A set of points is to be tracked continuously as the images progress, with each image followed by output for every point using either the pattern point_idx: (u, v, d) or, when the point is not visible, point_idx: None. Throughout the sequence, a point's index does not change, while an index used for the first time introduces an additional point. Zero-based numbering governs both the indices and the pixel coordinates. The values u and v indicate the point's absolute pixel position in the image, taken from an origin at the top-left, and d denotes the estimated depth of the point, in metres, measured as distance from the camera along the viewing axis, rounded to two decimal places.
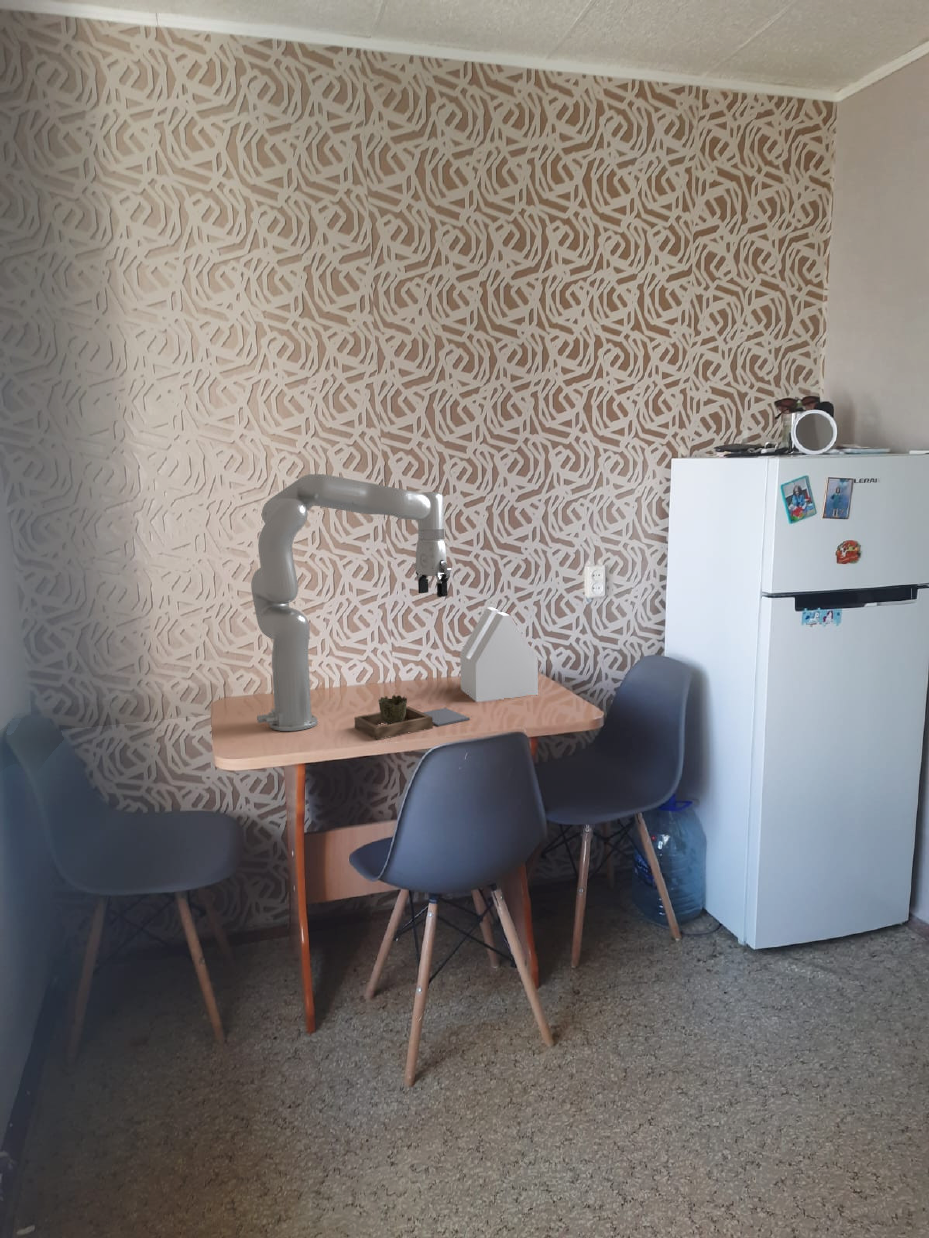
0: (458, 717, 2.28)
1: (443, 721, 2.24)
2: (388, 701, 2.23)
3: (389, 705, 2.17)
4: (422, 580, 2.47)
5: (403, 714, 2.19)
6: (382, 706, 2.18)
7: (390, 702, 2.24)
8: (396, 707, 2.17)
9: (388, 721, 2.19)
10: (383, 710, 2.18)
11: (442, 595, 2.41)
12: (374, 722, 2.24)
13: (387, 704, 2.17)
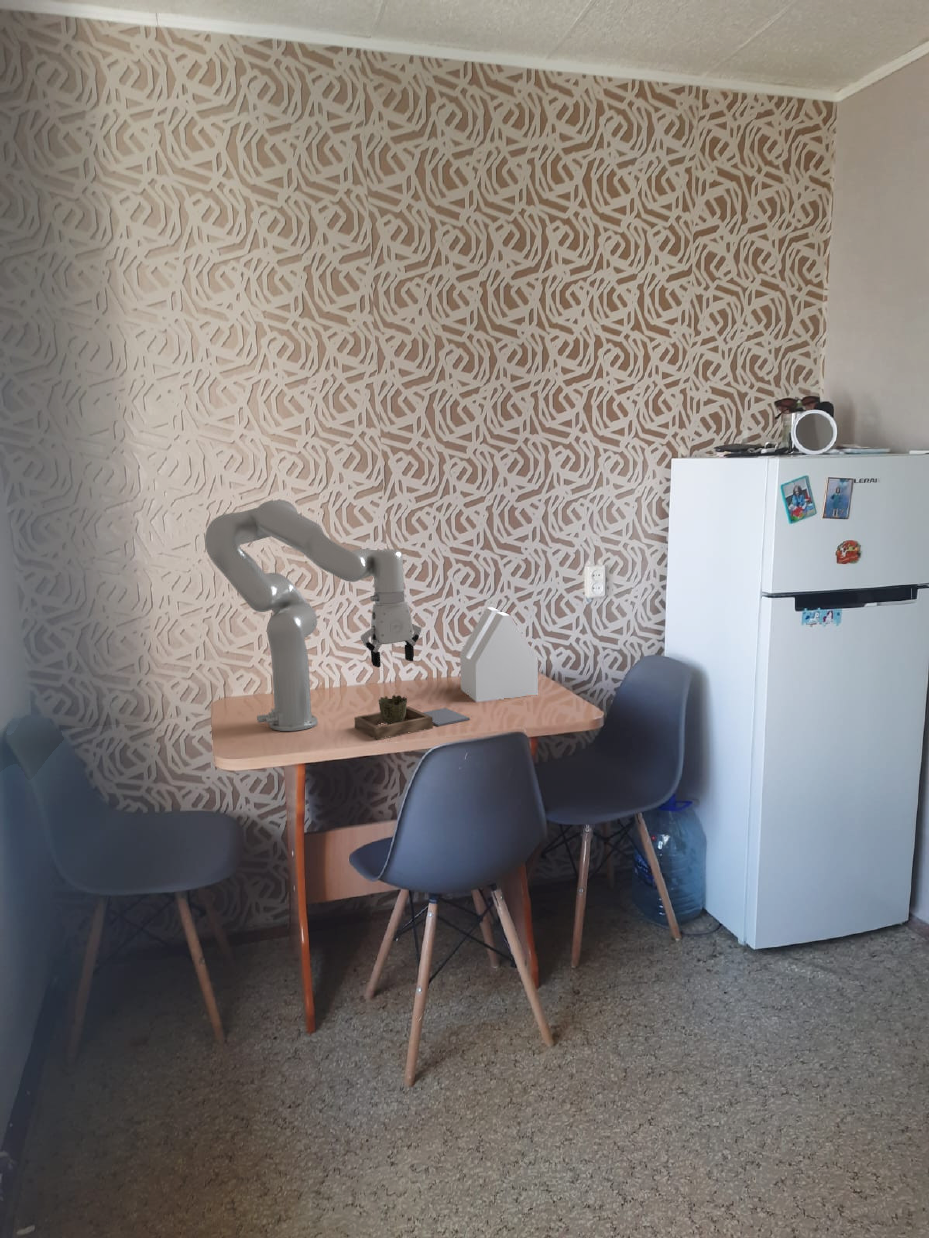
0: (458, 717, 2.28)
1: (443, 721, 2.24)
2: (388, 701, 2.23)
3: (389, 705, 2.17)
4: None
5: (403, 714, 2.19)
6: (382, 706, 2.18)
7: (390, 702, 2.24)
8: (396, 707, 2.17)
9: (388, 721, 2.19)
10: (383, 710, 2.18)
11: None
12: (374, 722, 2.24)
13: (387, 704, 2.17)
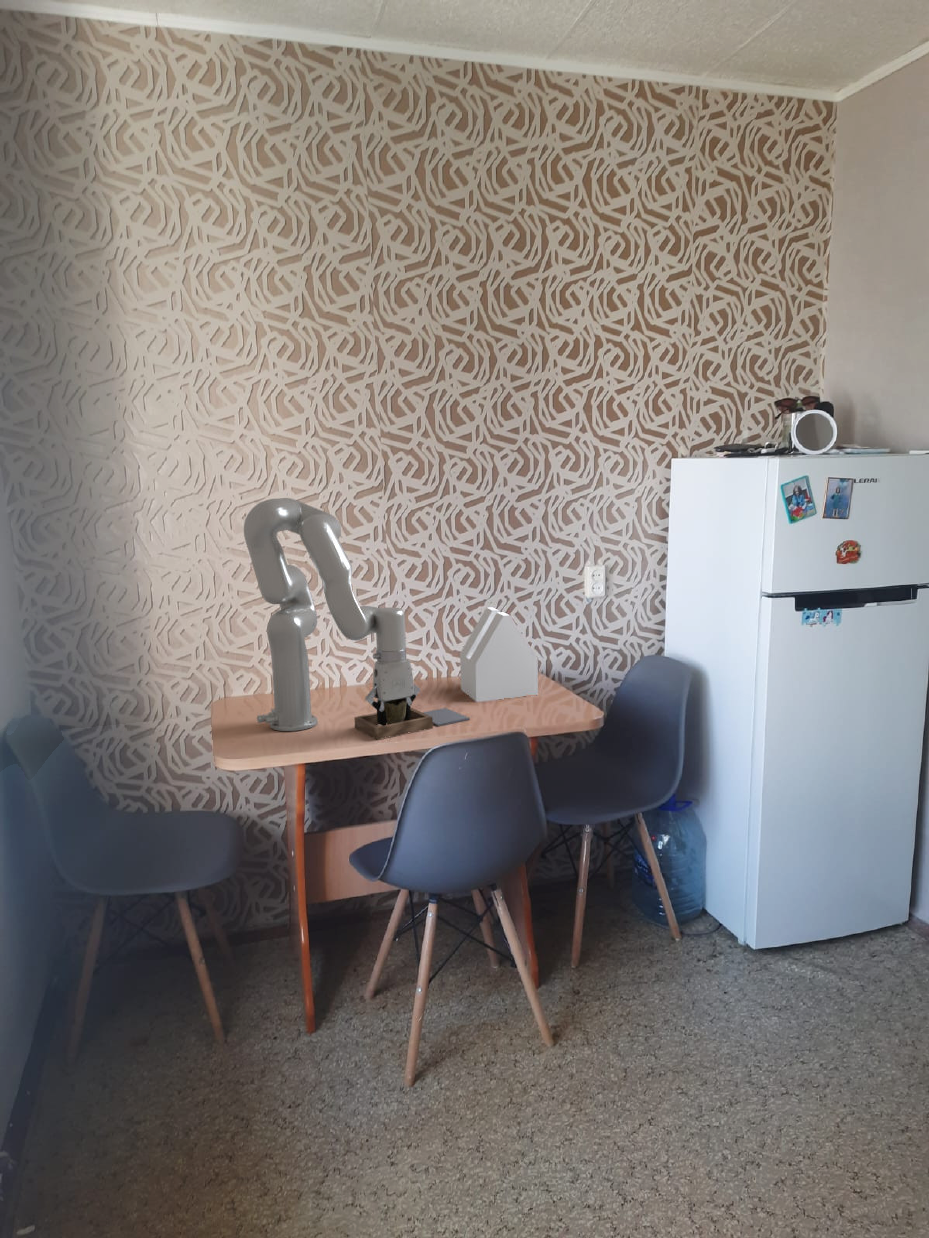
0: (458, 717, 2.28)
1: (443, 721, 2.24)
2: (388, 701, 2.23)
3: (389, 705, 2.17)
4: None
5: (402, 714, 2.19)
6: None
7: (390, 702, 2.24)
8: (396, 707, 2.17)
9: (388, 721, 2.19)
10: (383, 710, 2.18)
11: None
12: (374, 722, 2.24)
13: (387, 704, 2.17)
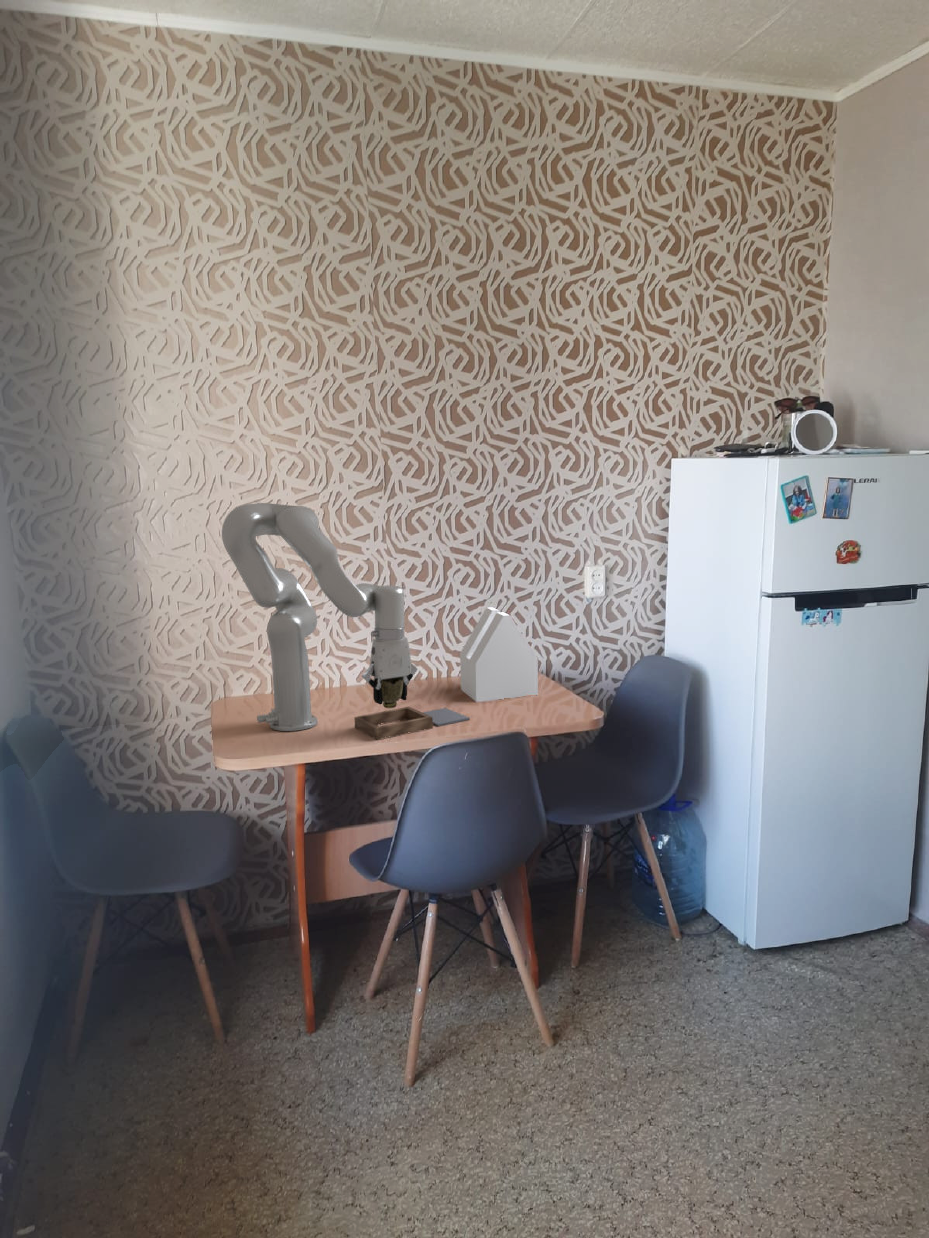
0: (458, 717, 2.28)
1: (443, 721, 2.24)
2: (385, 680, 2.22)
3: (385, 684, 2.16)
4: None
5: (399, 693, 2.18)
6: None
7: (387, 681, 2.23)
8: (392, 686, 2.16)
9: (384, 700, 2.18)
10: None
11: None
12: (374, 722, 2.24)
13: (383, 683, 2.16)
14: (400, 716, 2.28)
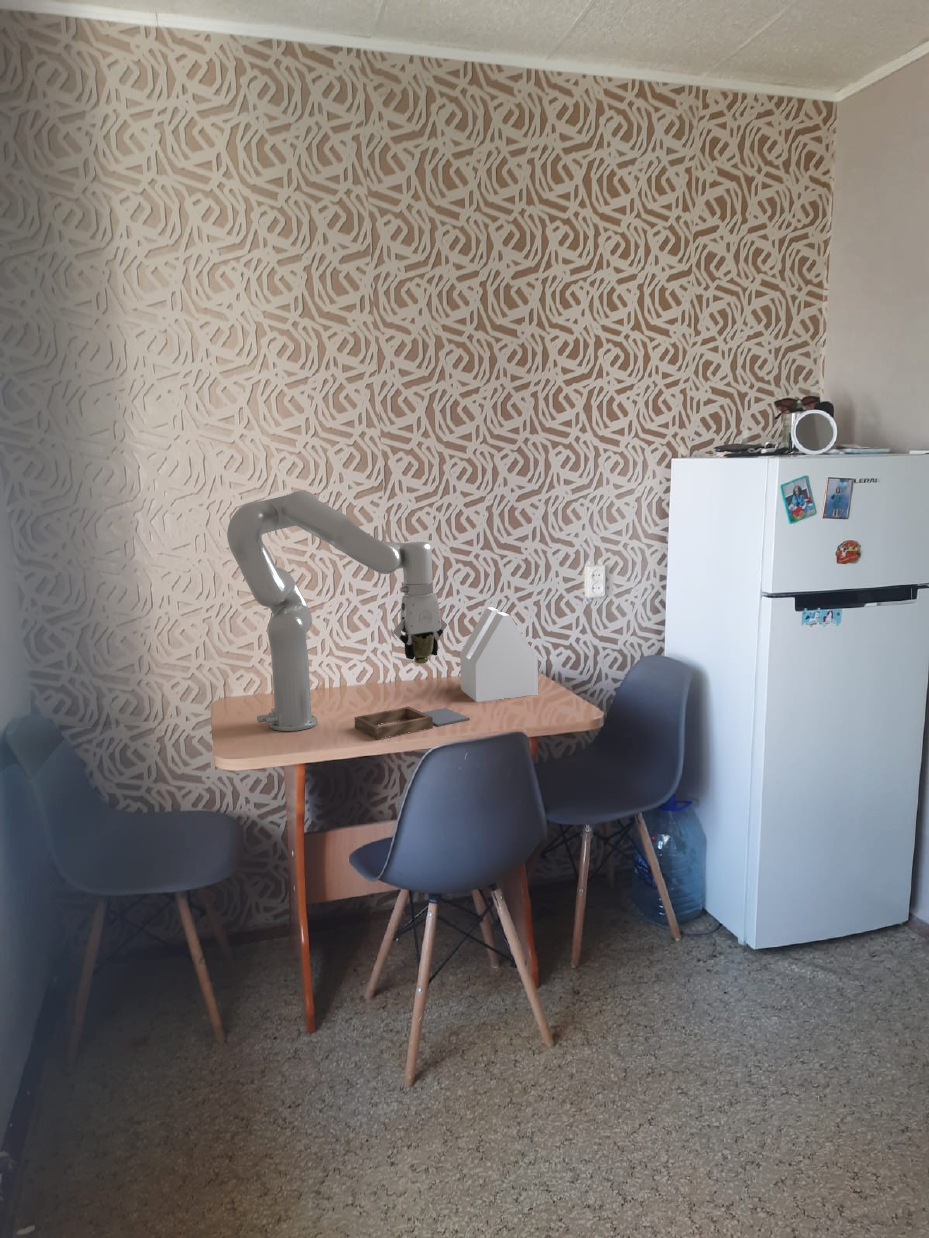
0: (458, 717, 2.28)
1: (443, 721, 2.24)
2: (415, 636, 2.25)
3: (416, 639, 2.18)
4: None
5: (430, 647, 2.21)
6: None
7: (417, 637, 2.25)
8: (423, 641, 2.19)
9: (415, 655, 2.20)
10: None
11: None
12: (374, 722, 2.24)
13: (414, 638, 2.18)
14: (400, 716, 2.28)
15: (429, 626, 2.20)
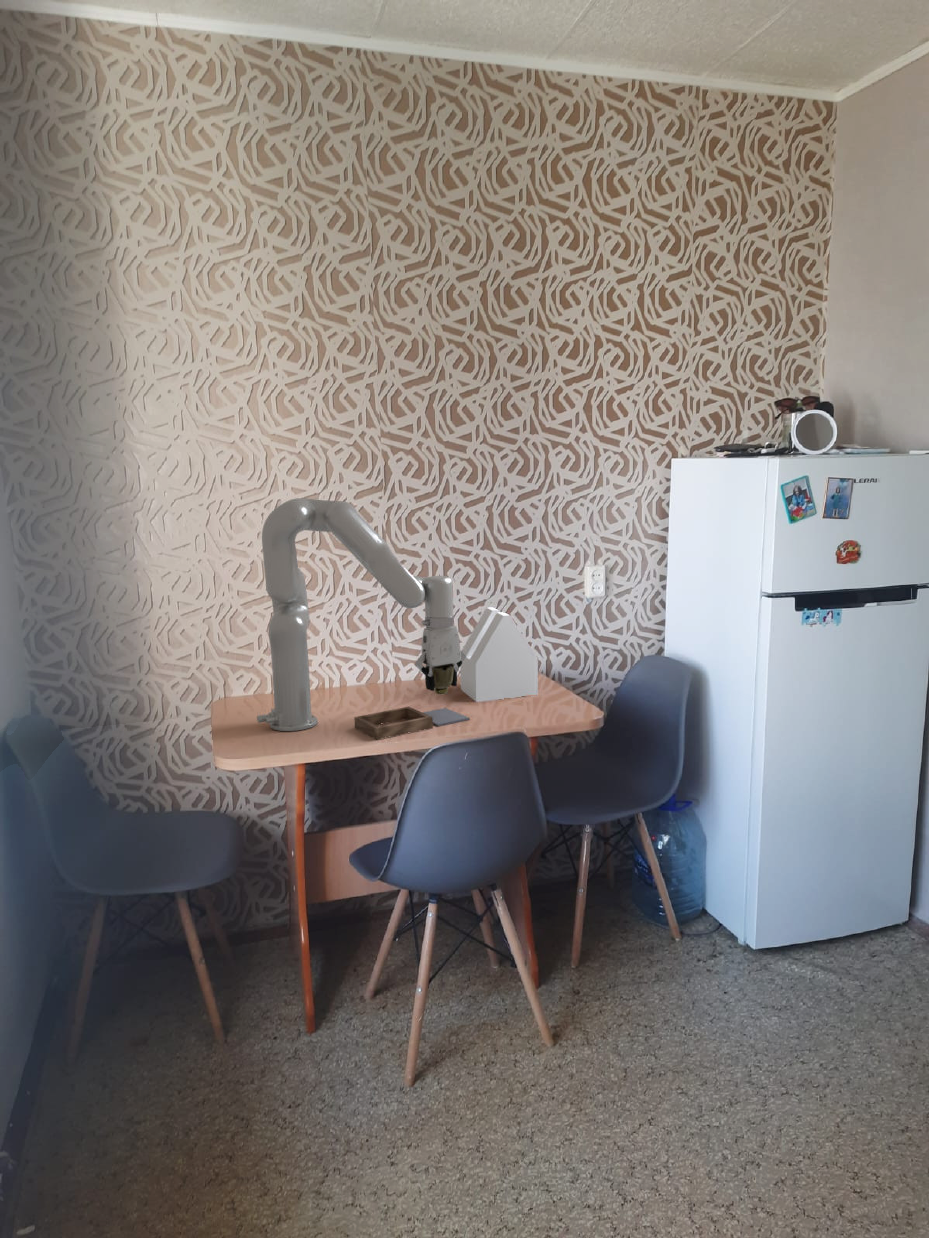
0: (458, 717, 2.28)
1: (443, 721, 2.24)
2: (435, 667, 2.30)
3: (437, 670, 2.24)
4: None
5: (450, 679, 2.26)
6: None
7: (437, 668, 2.31)
8: (444, 672, 2.24)
9: (436, 686, 2.25)
10: None
11: None
12: (374, 722, 2.24)
13: (435, 669, 2.24)
14: (400, 716, 2.28)
15: (449, 658, 2.25)
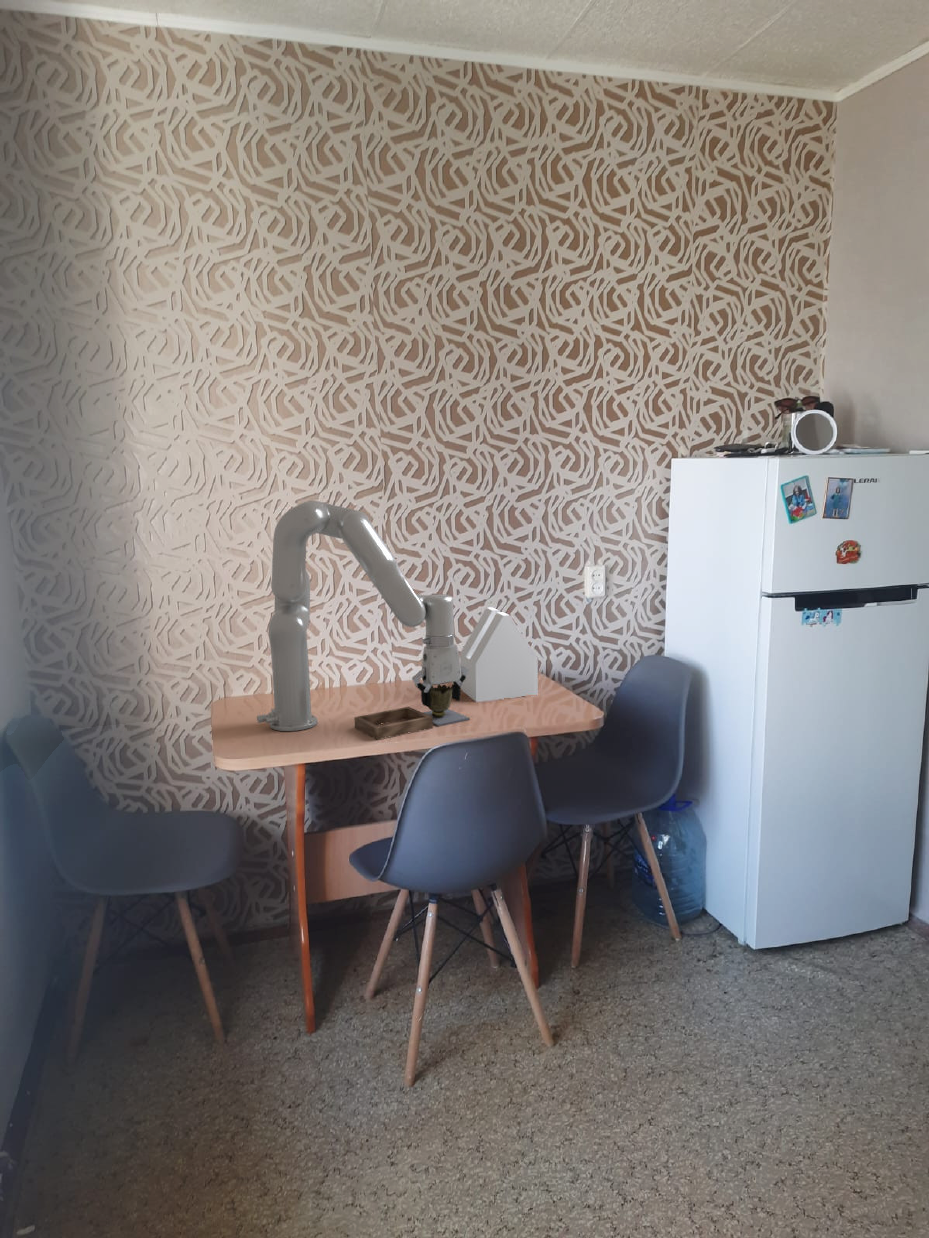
0: (458, 717, 2.28)
1: (443, 721, 2.24)
2: (433, 690, 2.31)
3: (435, 693, 2.25)
4: None
5: (448, 702, 2.27)
6: None
7: (435, 691, 2.31)
8: (442, 695, 2.25)
9: (434, 709, 2.26)
10: None
11: None
12: (374, 722, 2.24)
13: (434, 692, 2.25)
14: (400, 716, 2.28)
15: (449, 676, 2.26)
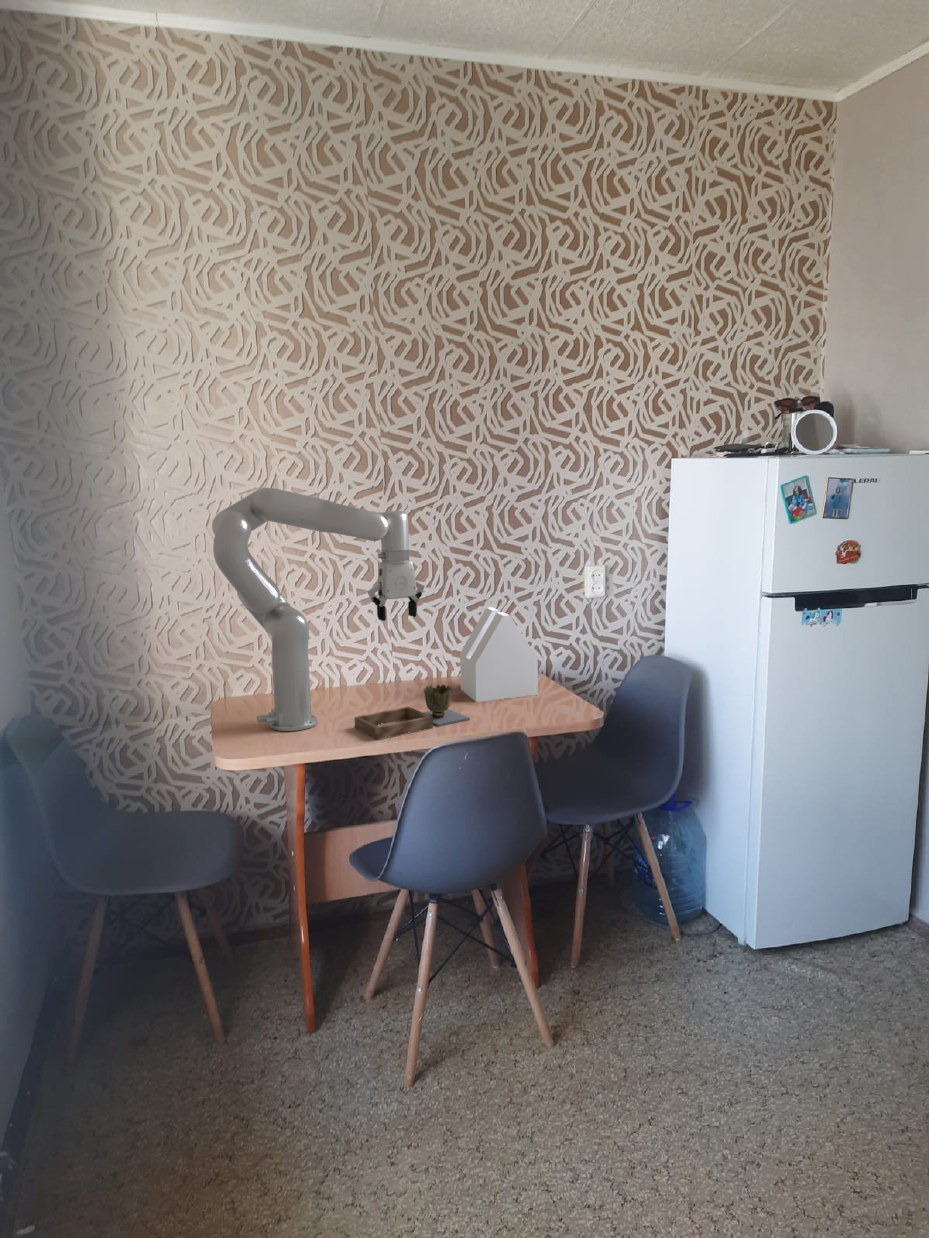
0: (458, 717, 2.28)
1: (443, 721, 2.24)
2: (432, 690, 2.31)
3: (435, 694, 2.24)
4: None
5: (447, 702, 2.26)
6: (428, 695, 2.25)
7: (434, 691, 2.31)
8: (441, 696, 2.25)
9: (433, 709, 2.26)
10: (428, 699, 2.26)
11: None
12: (374, 722, 2.24)
13: (433, 693, 2.24)
14: (400, 716, 2.28)
15: (405, 591, 2.31)
